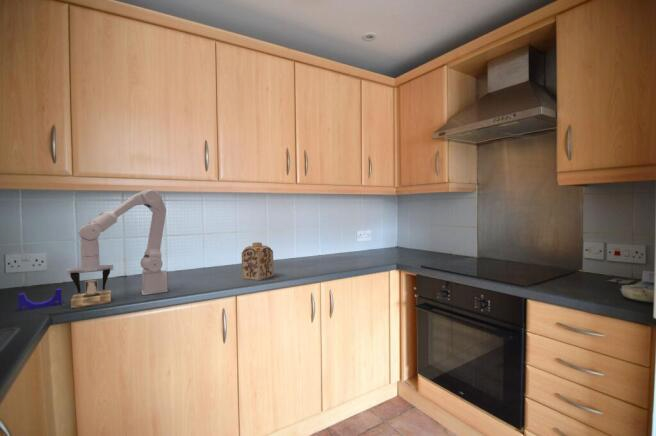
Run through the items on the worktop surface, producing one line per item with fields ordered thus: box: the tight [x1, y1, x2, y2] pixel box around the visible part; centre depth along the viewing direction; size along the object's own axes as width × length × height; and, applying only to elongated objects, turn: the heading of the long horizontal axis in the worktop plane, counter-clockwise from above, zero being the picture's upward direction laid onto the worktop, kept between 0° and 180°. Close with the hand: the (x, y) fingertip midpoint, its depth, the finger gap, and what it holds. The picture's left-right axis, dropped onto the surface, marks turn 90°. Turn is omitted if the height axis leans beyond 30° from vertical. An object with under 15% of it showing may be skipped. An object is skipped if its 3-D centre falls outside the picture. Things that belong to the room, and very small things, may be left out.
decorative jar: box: [241, 241, 275, 281], centre depth 168 cm, size 12×12×18 cm
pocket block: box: [70, 289, 112, 310], centre depth 127 cm, size 12×10×3 cm
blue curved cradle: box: [17, 287, 63, 312], centre depth 124 cm, size 12×4×6 cm, turn 127°
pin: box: [84, 279, 99, 297], centre depth 127 cm, size 4×4×8 cm
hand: (91, 290), depth 127 cm, fingers open, 7 cm apart
